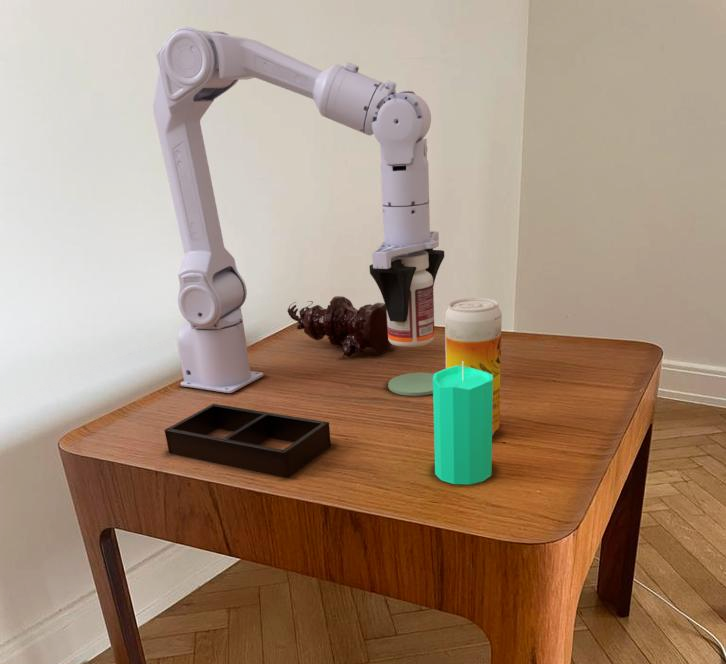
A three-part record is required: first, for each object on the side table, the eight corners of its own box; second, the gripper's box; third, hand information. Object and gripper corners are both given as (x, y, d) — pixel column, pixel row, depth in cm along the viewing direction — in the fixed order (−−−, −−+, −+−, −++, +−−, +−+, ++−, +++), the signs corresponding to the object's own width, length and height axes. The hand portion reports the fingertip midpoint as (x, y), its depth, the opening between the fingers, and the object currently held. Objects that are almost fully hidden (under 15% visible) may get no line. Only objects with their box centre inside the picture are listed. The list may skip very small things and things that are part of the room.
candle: (430, 462, 81) (427, 355, 75) (485, 456, 81) (486, 349, 75) (440, 487, 75) (437, 374, 70) (498, 481, 76) (500, 368, 70)
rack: (168, 453, 87) (164, 429, 86) (217, 425, 94) (213, 403, 93) (287, 478, 80) (284, 452, 78) (331, 446, 86) (329, 422, 85)
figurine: (390, 377, 116) (295, 367, 125) (409, 319, 119) (315, 313, 127) (364, 345, 108) (265, 337, 117) (385, 284, 110) (286, 281, 119)
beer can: (498, 443, 84) (500, 310, 77) (444, 441, 85) (441, 311, 78) (500, 422, 89) (502, 296, 82) (449, 421, 90) (447, 297, 84)
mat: (377, 391, 101) (377, 388, 101) (404, 373, 107) (404, 370, 107) (431, 399, 97) (431, 395, 97) (455, 379, 103) (455, 376, 103)
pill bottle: (431, 333, 101) (429, 247, 96) (437, 346, 96) (435, 256, 91) (386, 336, 101) (382, 250, 96) (389, 349, 96) (385, 259, 91)
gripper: (408, 212, 83) (412, 331, 90) (459, 195, 94) (460, 302, 101) (354, 212, 87) (361, 327, 93) (409, 195, 98) (413, 299, 104)
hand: (409, 314), depth 97 cm, fingers closed on pill bottle, 6 cm apart
